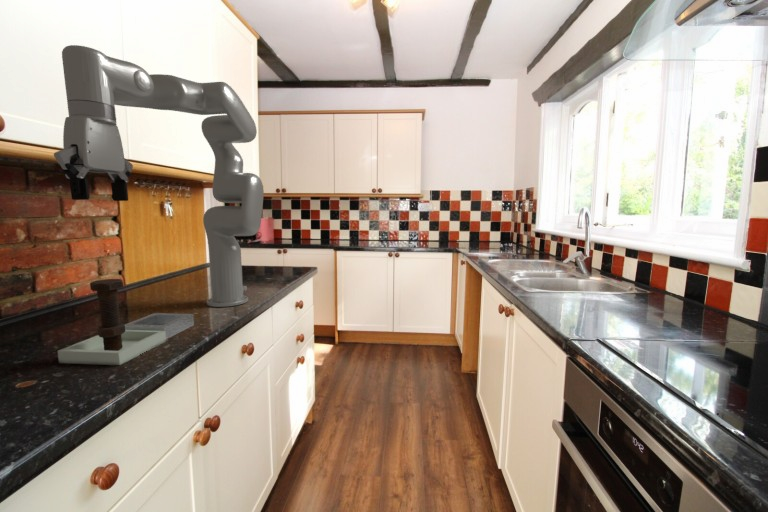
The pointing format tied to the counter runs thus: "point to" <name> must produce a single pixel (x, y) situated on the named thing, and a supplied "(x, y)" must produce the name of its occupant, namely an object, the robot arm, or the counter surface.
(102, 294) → the bolt
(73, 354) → the tray
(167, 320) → the grey notched slab
